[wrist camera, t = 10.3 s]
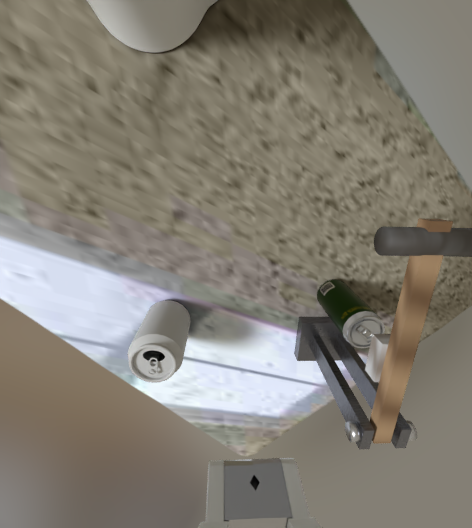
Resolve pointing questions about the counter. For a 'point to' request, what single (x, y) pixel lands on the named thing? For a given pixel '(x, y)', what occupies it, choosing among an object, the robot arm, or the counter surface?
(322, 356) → the press frame
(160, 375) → the can
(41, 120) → the counter surface
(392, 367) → the hammer
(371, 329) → the green soda can
